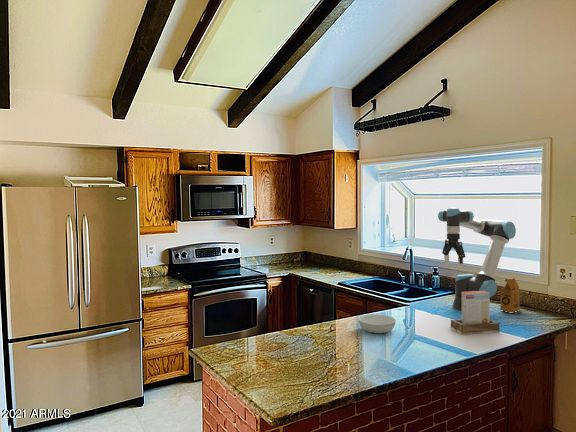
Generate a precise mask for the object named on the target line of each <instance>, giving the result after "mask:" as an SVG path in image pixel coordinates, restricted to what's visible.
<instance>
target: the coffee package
mask: <svg viewBox="0 0 576 432" xmlns="http://www.w3.org/2000/svg"><path fill="white" fill-rule="evenodd" d="M504 281H505V282H506V283H505V285H504V287H503V289H502V290H501V292H500V305H499V306H500V309H499V310H500V311H501V310H503V311H507V312H514V313H516V312H515V311H518V310H519V311H520V305H521V304H520V300H521V299H520V297H521V296H520V295H521V294H520V293H521V292H520V286H519V284H518V283H517V280H516V279H515V277H514V276H513V277H511V278H506V279H505V280H504ZM519 311H518V312H519Z"/></svg>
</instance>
